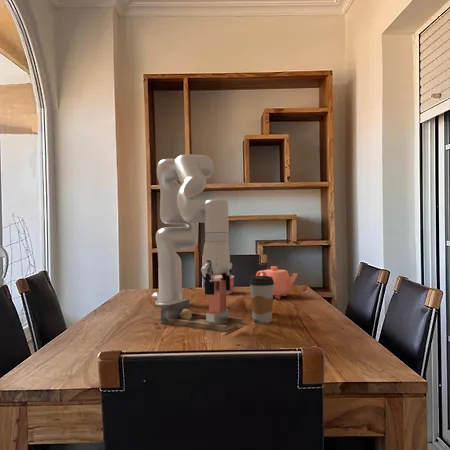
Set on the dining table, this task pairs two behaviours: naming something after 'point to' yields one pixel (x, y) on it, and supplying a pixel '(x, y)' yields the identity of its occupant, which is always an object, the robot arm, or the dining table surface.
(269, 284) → the coffee cup
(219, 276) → the container
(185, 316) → the walnut
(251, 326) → the dining table surface
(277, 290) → the teapot
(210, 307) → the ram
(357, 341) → the dining table surface
